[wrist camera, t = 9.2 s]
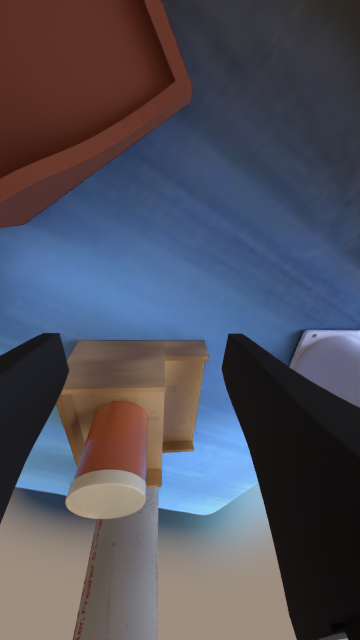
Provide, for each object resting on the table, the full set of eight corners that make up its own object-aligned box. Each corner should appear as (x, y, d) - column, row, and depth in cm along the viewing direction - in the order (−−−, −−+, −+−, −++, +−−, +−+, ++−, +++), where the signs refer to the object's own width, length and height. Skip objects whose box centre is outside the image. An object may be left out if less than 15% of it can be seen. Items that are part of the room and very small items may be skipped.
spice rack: (204, 340, 21) (219, 386, 15) (190, 432, 28) (198, 484, 23) (78, 339, 19) (48, 390, 14) (98, 436, 27) (83, 492, 21)
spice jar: (149, 399, 18) (145, 481, 12) (149, 434, 20) (146, 516, 15) (88, 400, 17) (56, 487, 12) (96, 437, 19) (73, 522, 14)
